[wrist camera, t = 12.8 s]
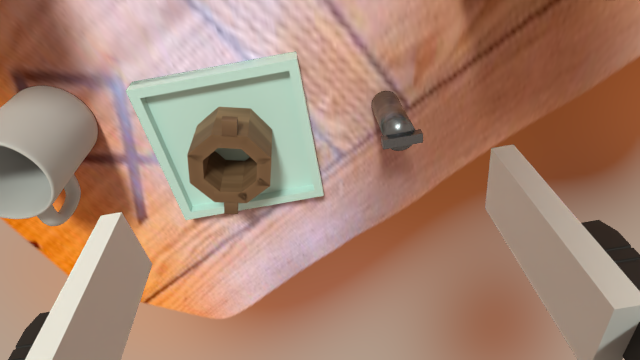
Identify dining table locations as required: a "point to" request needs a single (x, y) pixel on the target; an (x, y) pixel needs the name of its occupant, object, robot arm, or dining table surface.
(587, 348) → the robot arm
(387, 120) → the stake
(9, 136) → the mug
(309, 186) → the tray
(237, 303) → the dining table surface
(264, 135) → the brown hollow ring piece
